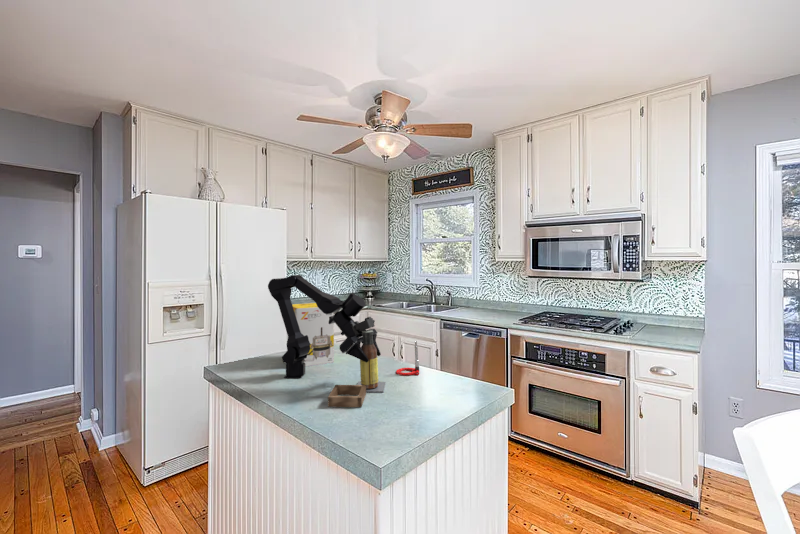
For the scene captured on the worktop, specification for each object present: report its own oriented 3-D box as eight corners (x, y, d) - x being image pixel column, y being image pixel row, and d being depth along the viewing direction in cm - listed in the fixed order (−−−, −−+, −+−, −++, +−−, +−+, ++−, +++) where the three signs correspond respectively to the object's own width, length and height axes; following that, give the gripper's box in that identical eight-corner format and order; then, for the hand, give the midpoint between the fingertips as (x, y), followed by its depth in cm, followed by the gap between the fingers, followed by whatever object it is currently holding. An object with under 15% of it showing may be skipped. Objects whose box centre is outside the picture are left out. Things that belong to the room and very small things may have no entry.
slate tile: (354, 392, 127) (354, 390, 127) (358, 382, 137) (358, 381, 137) (383, 392, 127) (383, 391, 127) (385, 383, 137) (385, 381, 137)
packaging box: (296, 367, 156) (296, 308, 155) (288, 358, 170) (287, 304, 170) (333, 362, 164) (333, 306, 163) (322, 354, 178) (322, 302, 177)
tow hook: (395, 377, 145) (419, 376, 145) (394, 344, 145) (417, 343, 145) (396, 370, 154) (419, 370, 153) (395, 339, 154) (417, 338, 153)
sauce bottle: (378, 383, 134) (378, 329, 134) (378, 389, 128) (378, 332, 128) (359, 384, 134) (359, 329, 133) (359, 390, 128) (359, 332, 127)
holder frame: (327, 406, 114) (327, 397, 114) (335, 393, 126) (335, 384, 126) (361, 407, 114) (361, 397, 114) (366, 393, 125) (366, 385, 125)
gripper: (347, 313, 124) (376, 349, 120) (372, 307, 141) (399, 338, 137) (327, 335, 127) (355, 371, 123) (354, 326, 145) (380, 357, 140)
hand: (374, 358), depth 131 cm, fingers open, 9 cm apart
